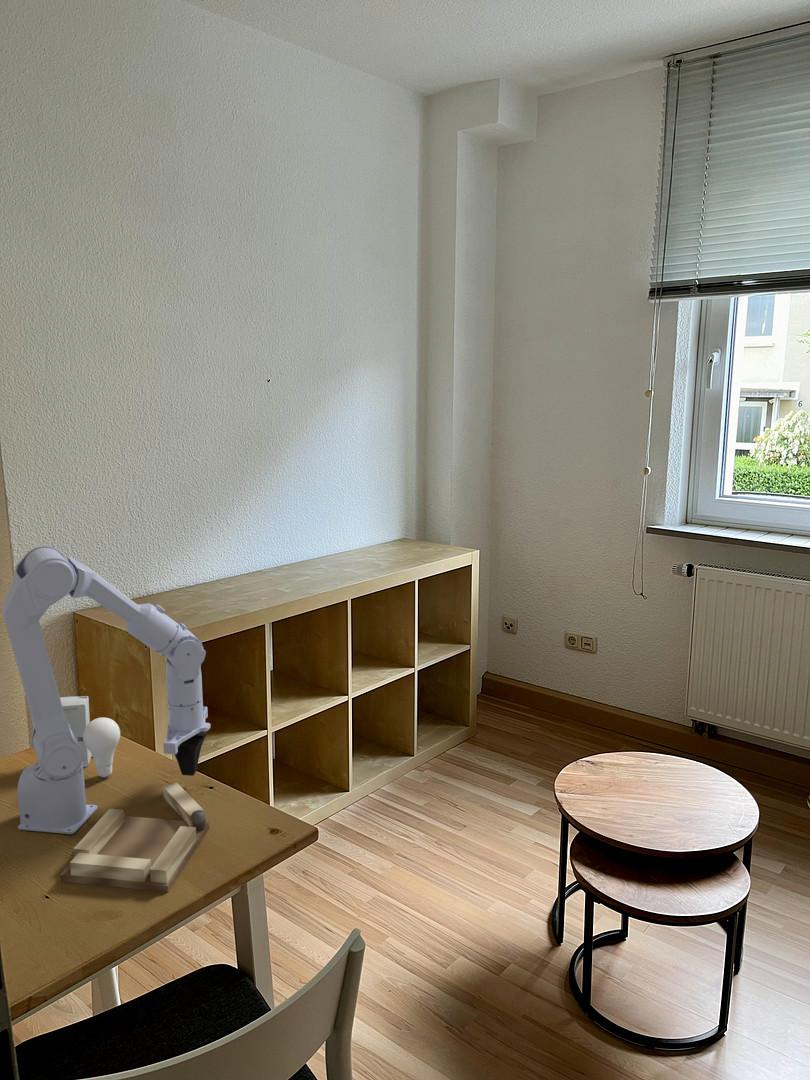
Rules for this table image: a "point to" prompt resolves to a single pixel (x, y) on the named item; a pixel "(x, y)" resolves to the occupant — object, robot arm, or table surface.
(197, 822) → the hinged leg
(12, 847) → the table surface
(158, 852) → the stool seat
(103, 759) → the lightbulb
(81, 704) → the skincare box
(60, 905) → the table surface
